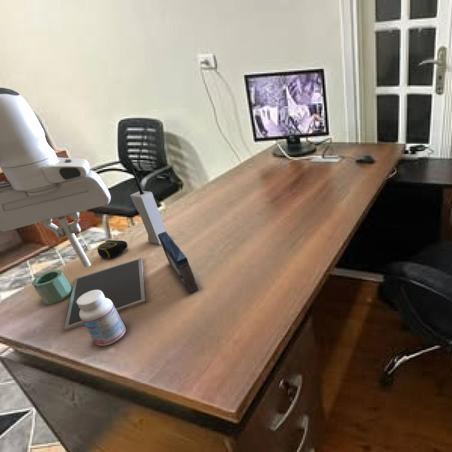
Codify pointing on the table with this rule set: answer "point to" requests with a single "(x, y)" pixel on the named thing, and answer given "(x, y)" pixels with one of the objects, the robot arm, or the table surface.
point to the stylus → (74, 241)
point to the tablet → (109, 289)
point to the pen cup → (52, 286)
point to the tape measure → (111, 248)
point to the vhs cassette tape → (178, 262)
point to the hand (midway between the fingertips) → (69, 233)
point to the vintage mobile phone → (148, 212)
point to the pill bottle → (100, 318)
